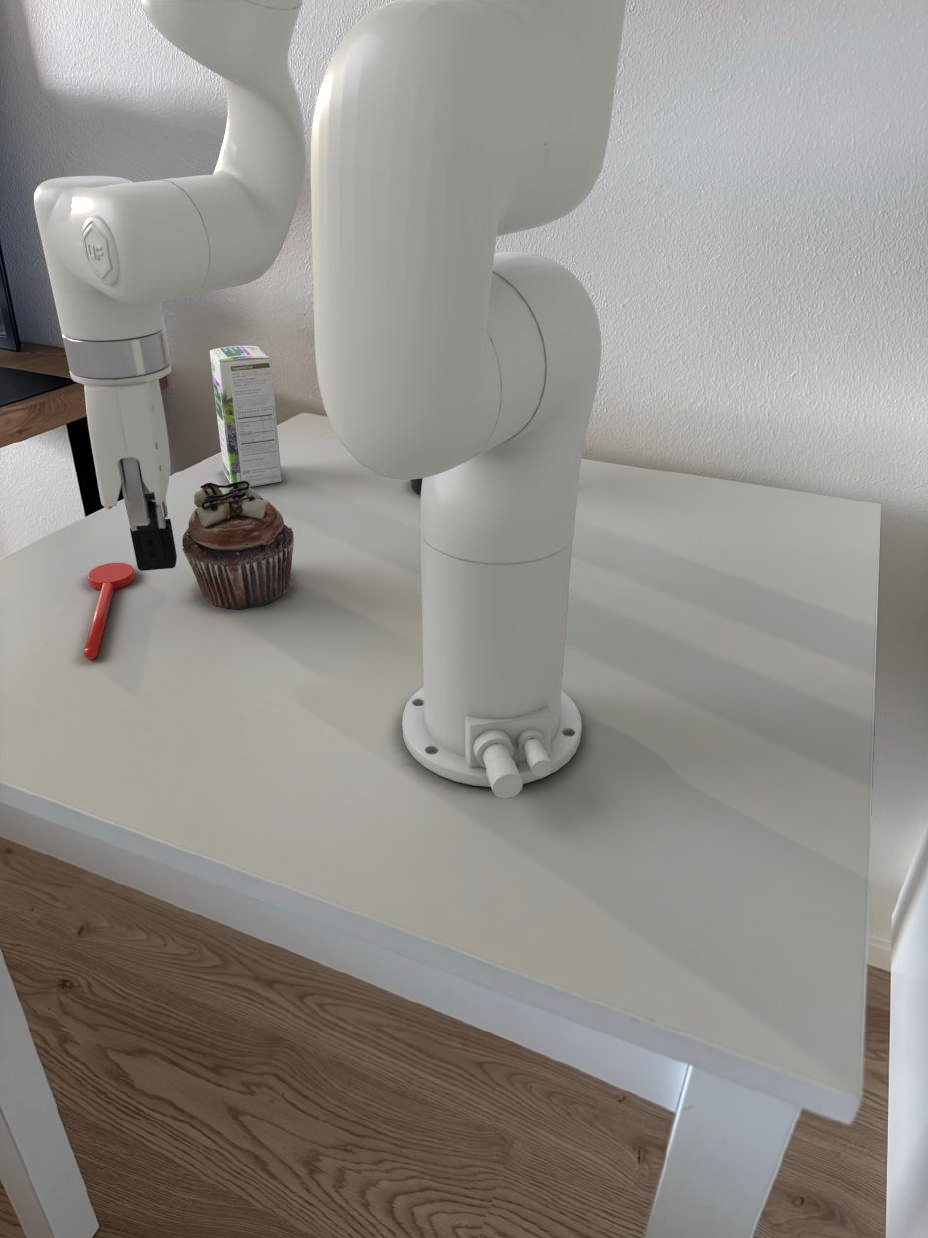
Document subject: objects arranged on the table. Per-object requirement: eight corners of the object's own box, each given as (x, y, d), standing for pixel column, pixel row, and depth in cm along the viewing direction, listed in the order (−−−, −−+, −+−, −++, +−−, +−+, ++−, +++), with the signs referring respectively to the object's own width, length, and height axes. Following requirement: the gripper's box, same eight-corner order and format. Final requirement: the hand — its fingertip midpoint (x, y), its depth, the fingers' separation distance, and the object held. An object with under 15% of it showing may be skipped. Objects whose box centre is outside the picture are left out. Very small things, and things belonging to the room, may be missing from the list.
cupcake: (314, 598, 80) (304, 494, 75) (204, 624, 77) (186, 515, 71) (281, 555, 88) (270, 457, 83) (179, 577, 84) (161, 475, 79)
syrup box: (222, 473, 106) (205, 348, 99) (272, 465, 108) (258, 342, 101) (233, 490, 102) (216, 360, 94) (285, 482, 104) (272, 354, 97)
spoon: (117, 658, 72) (115, 648, 71) (64, 664, 71) (61, 653, 71) (137, 568, 85) (135, 558, 85) (92, 572, 85) (90, 562, 84)
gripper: (81, 333, 76) (122, 533, 85) (50, 384, 63) (102, 611, 72) (174, 329, 77) (204, 526, 86) (162, 378, 64) (199, 602, 74)
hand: (158, 564), depth 79 cm, fingers closed
